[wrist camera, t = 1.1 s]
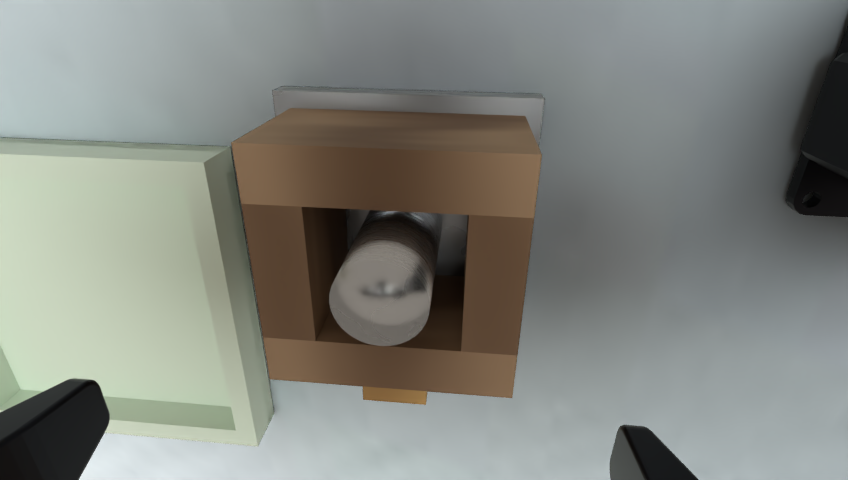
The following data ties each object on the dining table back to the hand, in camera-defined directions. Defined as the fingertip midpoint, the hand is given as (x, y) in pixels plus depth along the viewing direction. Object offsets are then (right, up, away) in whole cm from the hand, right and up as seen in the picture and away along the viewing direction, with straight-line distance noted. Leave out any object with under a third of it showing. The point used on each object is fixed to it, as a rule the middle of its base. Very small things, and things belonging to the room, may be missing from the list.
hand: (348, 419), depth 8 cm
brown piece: (+1, +4, +8) cm, 9 cm away
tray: (-11, +1, +11) cm, 16 cm away
